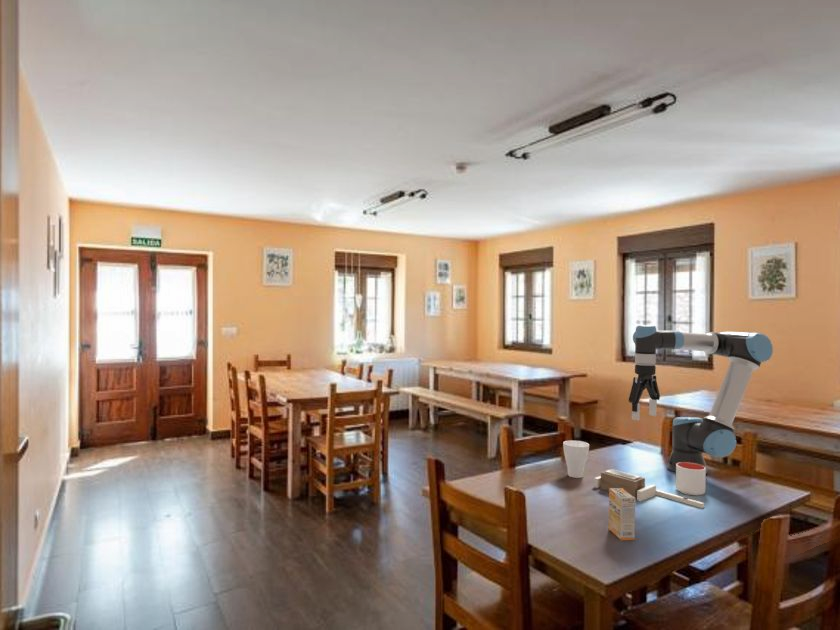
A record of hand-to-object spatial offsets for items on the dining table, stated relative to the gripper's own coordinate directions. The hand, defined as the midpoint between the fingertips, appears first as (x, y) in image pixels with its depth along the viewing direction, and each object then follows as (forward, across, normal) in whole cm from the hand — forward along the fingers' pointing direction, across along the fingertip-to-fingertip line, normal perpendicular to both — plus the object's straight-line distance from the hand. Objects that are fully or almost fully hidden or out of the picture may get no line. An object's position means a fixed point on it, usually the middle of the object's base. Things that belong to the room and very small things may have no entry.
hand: (644, 417), depth 204 cm
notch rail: (+27, +11, +7) cm, 30 cm away
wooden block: (+27, +14, -1) cm, 30 cm away
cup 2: (+27, -7, +15) cm, 32 cm away
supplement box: (+27, +50, +19) cm, 60 cm away
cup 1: (+27, +12, -23) cm, 37 cm away
